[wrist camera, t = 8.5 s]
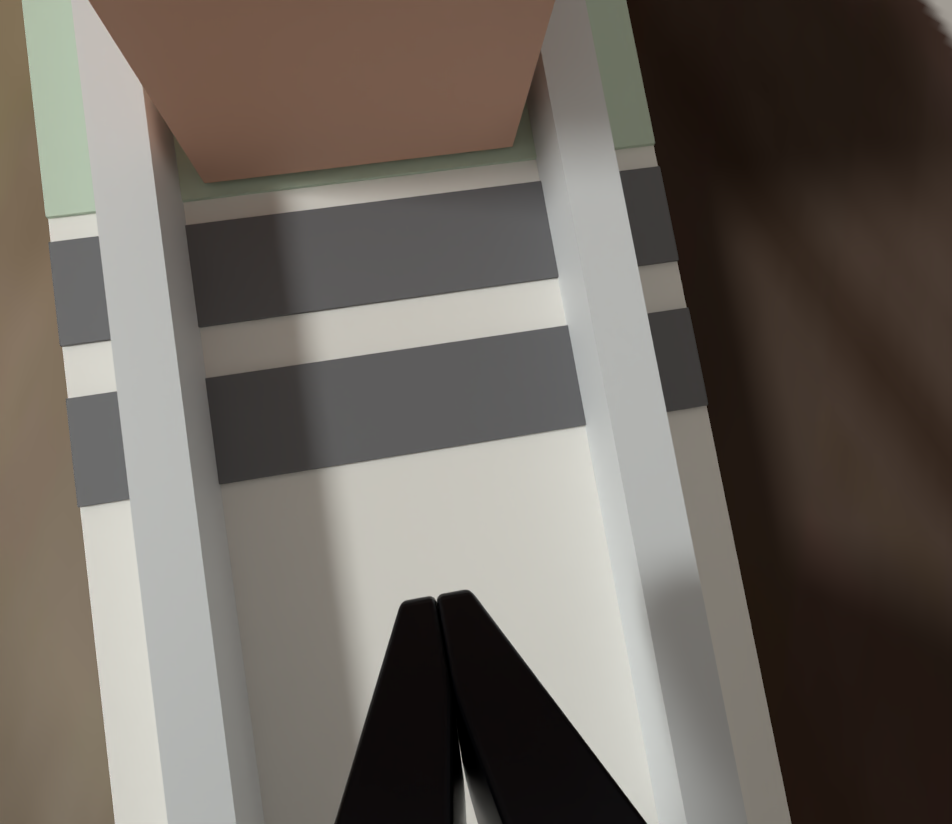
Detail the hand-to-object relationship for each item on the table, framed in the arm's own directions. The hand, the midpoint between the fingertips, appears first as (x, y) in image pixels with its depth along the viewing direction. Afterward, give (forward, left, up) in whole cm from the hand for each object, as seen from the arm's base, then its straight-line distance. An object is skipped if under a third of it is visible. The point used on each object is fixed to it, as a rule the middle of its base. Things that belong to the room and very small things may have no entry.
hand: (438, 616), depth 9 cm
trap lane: (+3, -2, -6) cm, 7 cm away
